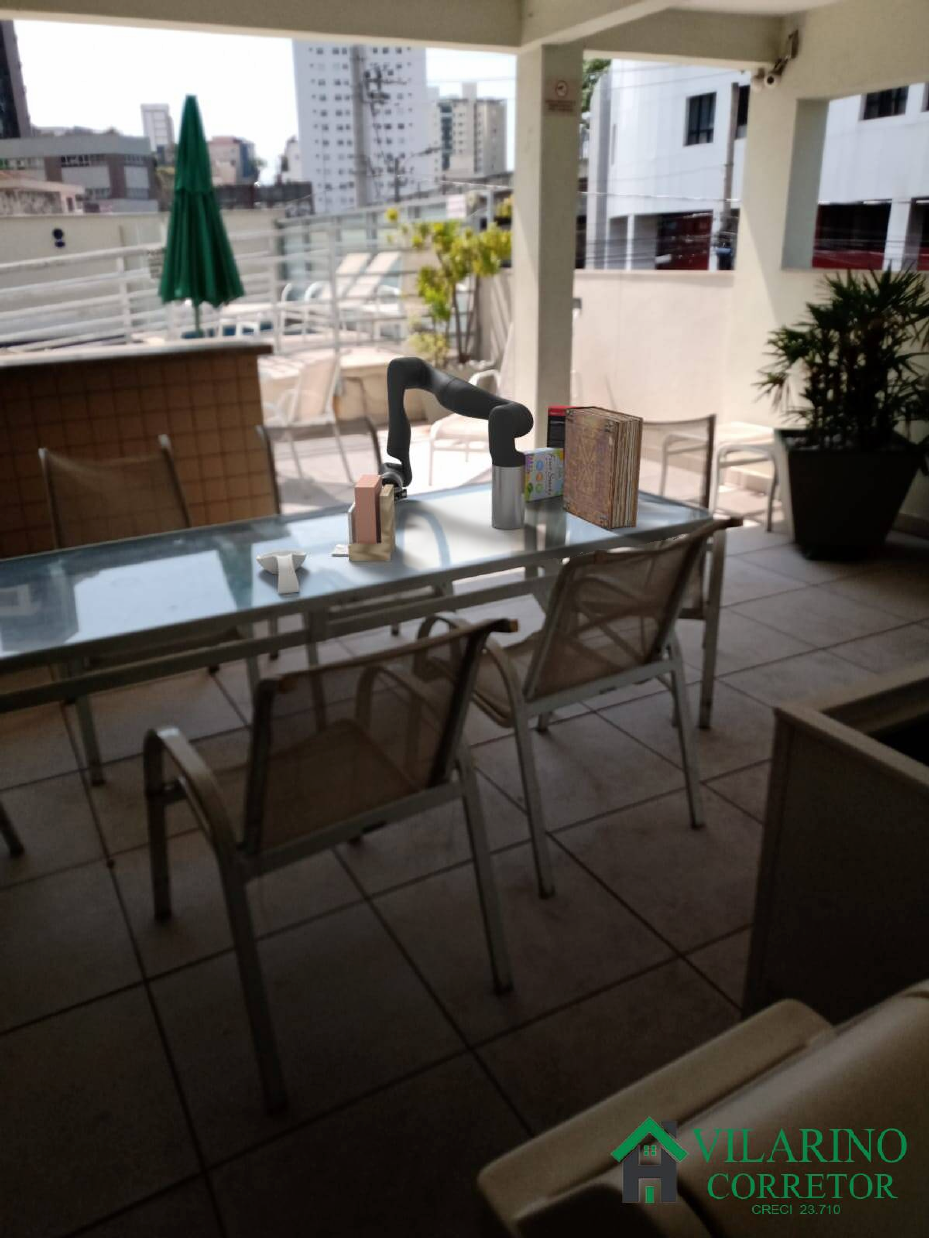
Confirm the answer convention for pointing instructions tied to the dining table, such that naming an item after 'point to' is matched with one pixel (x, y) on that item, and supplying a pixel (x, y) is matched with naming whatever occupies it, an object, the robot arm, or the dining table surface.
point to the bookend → (343, 549)
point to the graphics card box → (557, 426)
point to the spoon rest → (283, 568)
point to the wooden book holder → (387, 533)
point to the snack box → (543, 473)
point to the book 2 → (602, 466)
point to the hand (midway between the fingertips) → (381, 500)
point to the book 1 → (368, 508)
